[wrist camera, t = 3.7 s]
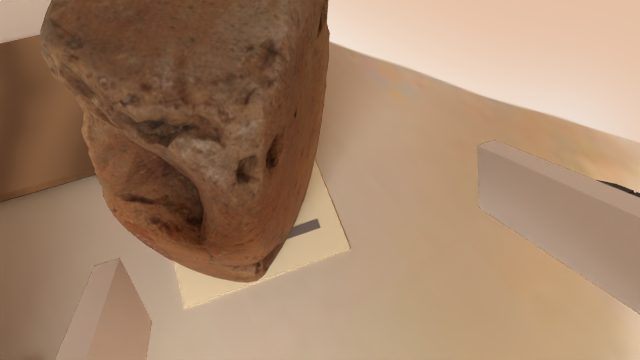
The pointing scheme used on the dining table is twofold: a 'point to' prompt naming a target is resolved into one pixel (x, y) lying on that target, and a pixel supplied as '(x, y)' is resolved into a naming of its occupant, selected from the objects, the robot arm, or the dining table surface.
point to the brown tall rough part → (198, 118)
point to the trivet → (37, 124)
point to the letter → (298, 250)
